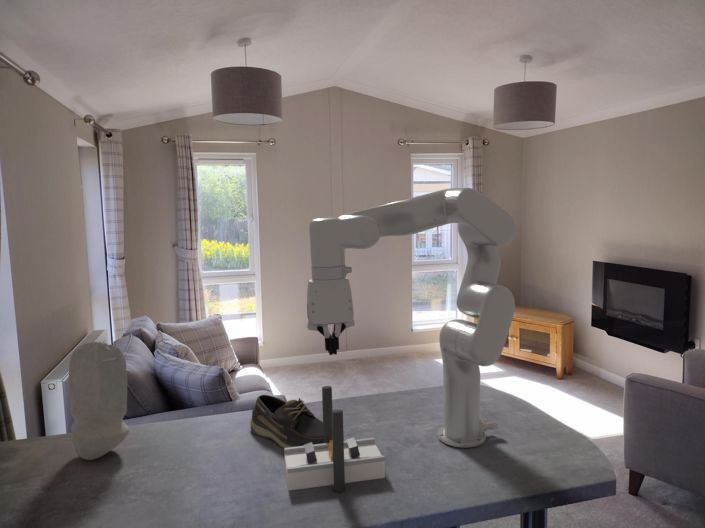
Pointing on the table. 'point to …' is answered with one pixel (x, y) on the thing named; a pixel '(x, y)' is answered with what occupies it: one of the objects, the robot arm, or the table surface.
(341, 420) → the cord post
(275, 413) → the boat shoe
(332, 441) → the rectangular block
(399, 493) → the table surface
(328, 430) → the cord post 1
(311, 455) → the grey block
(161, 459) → the table surface
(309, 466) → the breaker panel
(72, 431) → the sculpture
